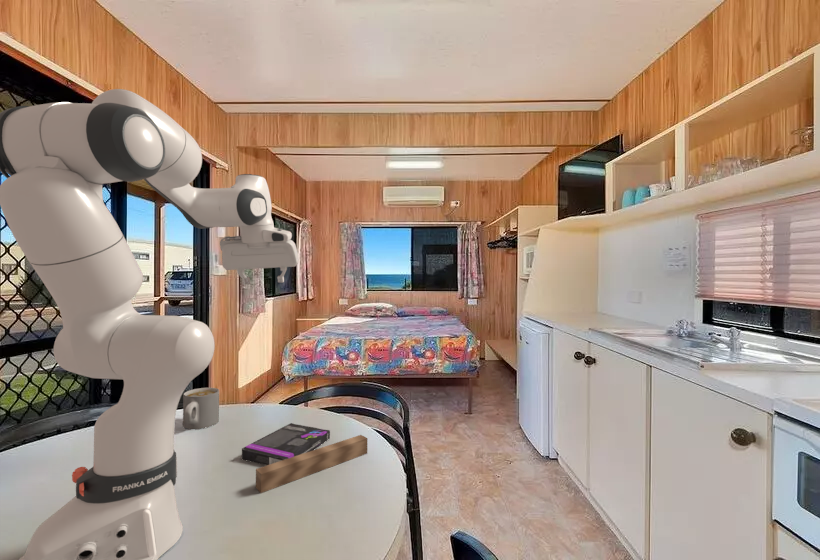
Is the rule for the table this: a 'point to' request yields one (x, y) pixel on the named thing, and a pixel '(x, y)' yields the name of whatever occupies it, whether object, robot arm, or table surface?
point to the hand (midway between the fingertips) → (264, 283)
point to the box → (285, 444)
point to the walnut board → (309, 463)
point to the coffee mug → (200, 408)
